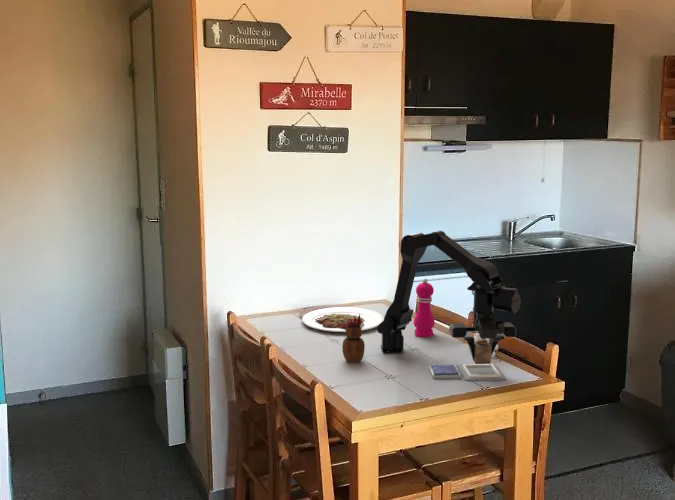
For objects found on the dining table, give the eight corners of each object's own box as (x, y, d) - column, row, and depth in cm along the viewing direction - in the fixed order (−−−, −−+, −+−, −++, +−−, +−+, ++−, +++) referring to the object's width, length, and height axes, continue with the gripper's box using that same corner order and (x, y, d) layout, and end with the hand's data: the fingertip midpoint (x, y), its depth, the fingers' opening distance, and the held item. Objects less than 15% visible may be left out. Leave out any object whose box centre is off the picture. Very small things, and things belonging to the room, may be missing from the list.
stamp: (475, 364, 209) (476, 342, 208) (472, 358, 213) (472, 337, 212) (490, 363, 209) (491, 342, 208) (486, 358, 214) (487, 337, 212)
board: (465, 380, 206) (465, 377, 206) (456, 366, 218) (456, 362, 217) (506, 380, 206) (506, 376, 206) (495, 365, 218) (495, 362, 218)
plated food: (334, 307, 283) (334, 299, 282) (399, 320, 266) (399, 311, 265) (285, 326, 259) (285, 317, 258) (353, 341, 242) (353, 331, 241)
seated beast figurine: (494, 358, 224) (496, 322, 222) (466, 355, 227) (468, 319, 225) (498, 349, 233) (500, 313, 230) (472, 346, 236) (473, 311, 233)
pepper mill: (410, 336, 246) (411, 279, 242) (416, 330, 252) (417, 275, 248) (431, 339, 243) (432, 281, 239) (436, 333, 250) (438, 277, 246)
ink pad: (433, 378, 207) (433, 374, 207) (428, 368, 215) (428, 364, 215) (460, 378, 208) (460, 373, 207) (454, 368, 216) (455, 364, 215)
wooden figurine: (366, 359, 224) (367, 312, 221) (361, 365, 218) (361, 318, 215) (346, 356, 226) (346, 310, 223) (340, 362, 220) (340, 315, 218)
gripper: (457, 314, 200) (455, 368, 203) (523, 314, 201) (520, 367, 204) (449, 304, 211) (447, 354, 214) (512, 303, 211) (509, 353, 215)
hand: (481, 357), depth 211 cm, fingers closed on stamp, 4 cm apart
